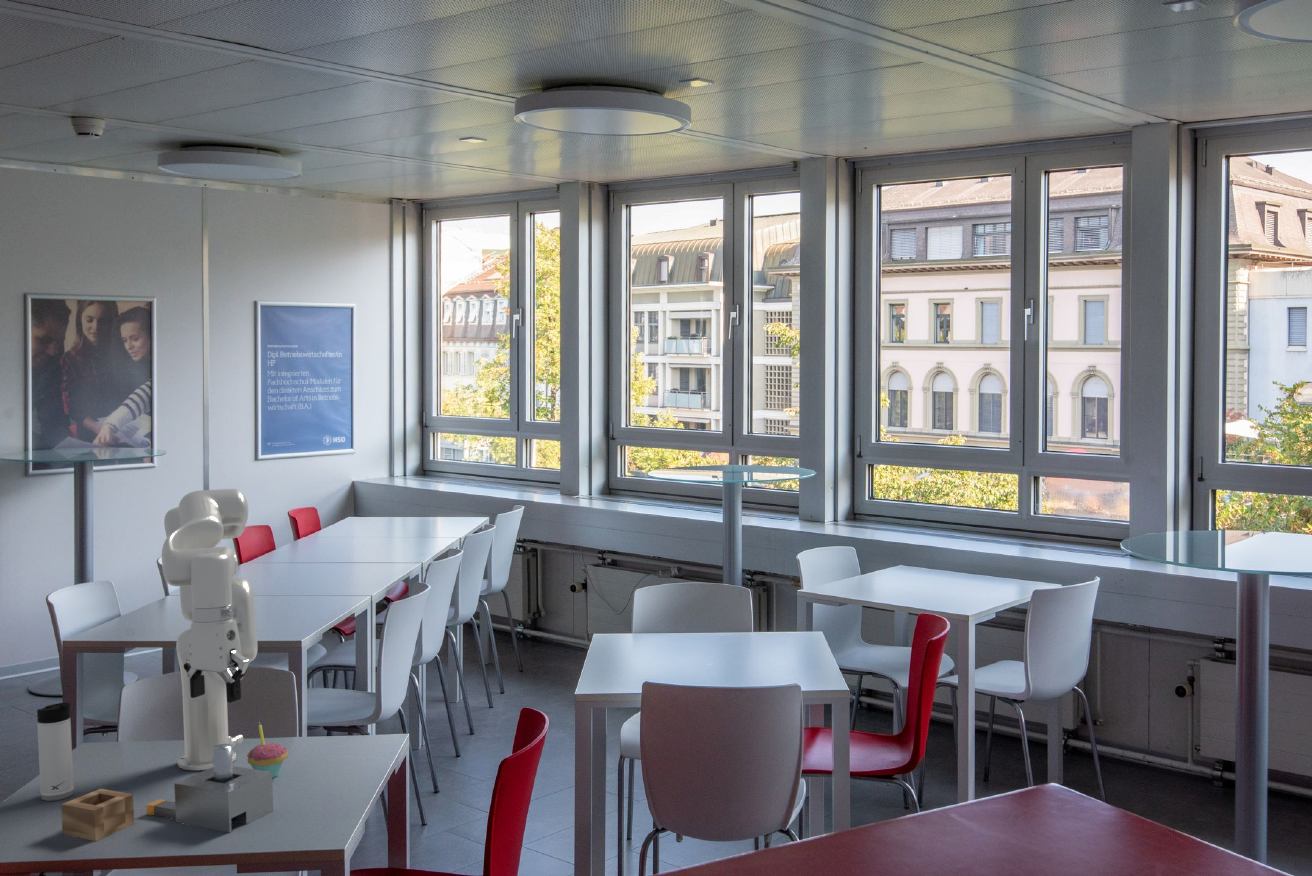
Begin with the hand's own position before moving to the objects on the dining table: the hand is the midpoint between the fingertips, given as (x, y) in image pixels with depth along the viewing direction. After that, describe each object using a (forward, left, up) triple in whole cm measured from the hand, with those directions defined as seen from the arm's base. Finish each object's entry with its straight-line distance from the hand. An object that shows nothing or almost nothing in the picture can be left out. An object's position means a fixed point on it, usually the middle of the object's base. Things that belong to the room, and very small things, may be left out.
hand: (215, 698), depth 225 cm
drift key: (+3, -7, -24) cm, 25 cm away
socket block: (0, +1, -24) cm, 24 cm away
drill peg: (0, +1, -21) cm, 21 cm away
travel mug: (+4, -42, -24) cm, 49 cm away
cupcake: (-22, -8, -24) cm, 34 cm away
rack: (+14, -18, -24) cm, 33 cm away
